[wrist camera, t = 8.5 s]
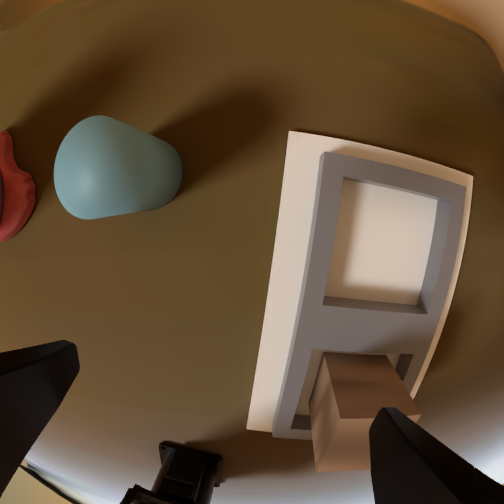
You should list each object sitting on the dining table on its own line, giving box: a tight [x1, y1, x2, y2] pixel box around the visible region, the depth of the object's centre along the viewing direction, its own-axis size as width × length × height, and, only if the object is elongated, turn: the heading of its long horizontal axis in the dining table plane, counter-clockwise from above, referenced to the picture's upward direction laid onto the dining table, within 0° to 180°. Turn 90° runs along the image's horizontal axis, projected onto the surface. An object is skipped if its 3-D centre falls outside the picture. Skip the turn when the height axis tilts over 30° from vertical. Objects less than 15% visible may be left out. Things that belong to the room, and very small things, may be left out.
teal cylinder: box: [54, 115, 183, 219], centre depth 15 cm, size 5×5×7 cm
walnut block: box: [309, 352, 421, 471], centre depth 16 cm, size 5×5×7 cm
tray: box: [246, 131, 473, 440], centre depth 18 cm, size 23×14×2 cm, turn 173°
